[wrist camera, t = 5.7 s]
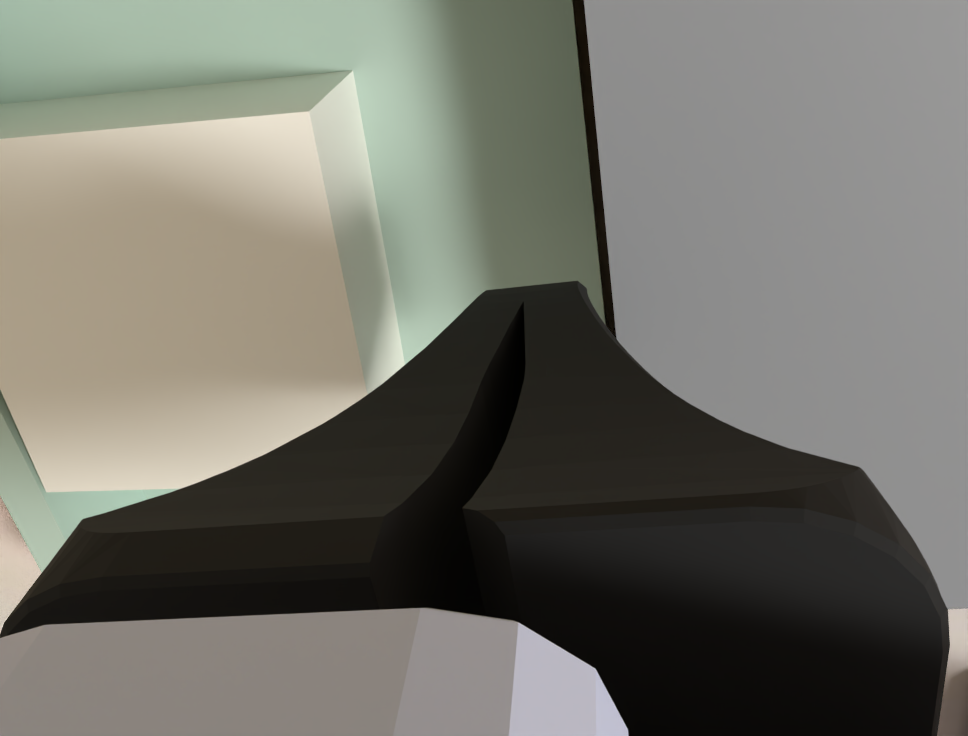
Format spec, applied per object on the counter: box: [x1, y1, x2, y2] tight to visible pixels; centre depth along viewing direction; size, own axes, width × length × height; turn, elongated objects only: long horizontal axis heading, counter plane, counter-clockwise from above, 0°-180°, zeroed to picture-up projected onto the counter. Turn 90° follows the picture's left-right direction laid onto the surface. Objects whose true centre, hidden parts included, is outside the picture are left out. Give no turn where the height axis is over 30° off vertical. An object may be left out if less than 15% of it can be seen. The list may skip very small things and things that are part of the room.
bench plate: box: [584, 0, 968, 609], centre depth 13 cm, size 12×10×3 cm
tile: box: [0, 71, 405, 492], centre depth 14 cm, size 6×6×2 cm
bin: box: [0, 0, 606, 572], centre depth 15 cm, size 13×11×3 cm
